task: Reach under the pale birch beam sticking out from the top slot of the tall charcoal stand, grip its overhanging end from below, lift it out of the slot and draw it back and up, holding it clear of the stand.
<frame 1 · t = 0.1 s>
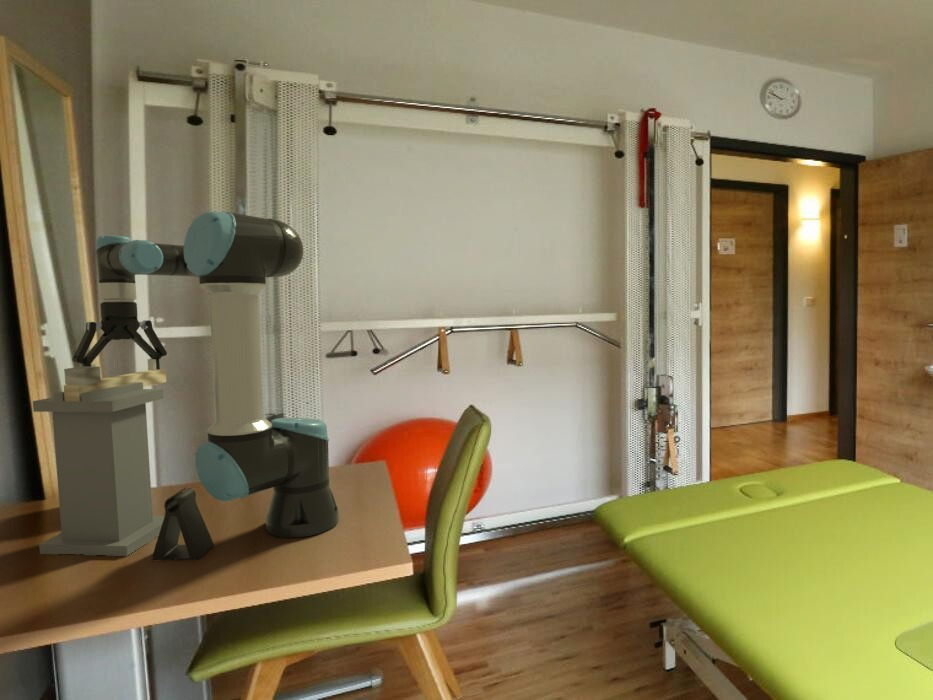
hand: (124, 388, 134), 28 cm above the table, tool pointing down, fingers open, 13 cm apart
beam: (121, 390, 116), point 30 cm above the table, touching stand
stand: (130, 527, 119), on the table
dark triangular holder: (183, 554, 106), on the table
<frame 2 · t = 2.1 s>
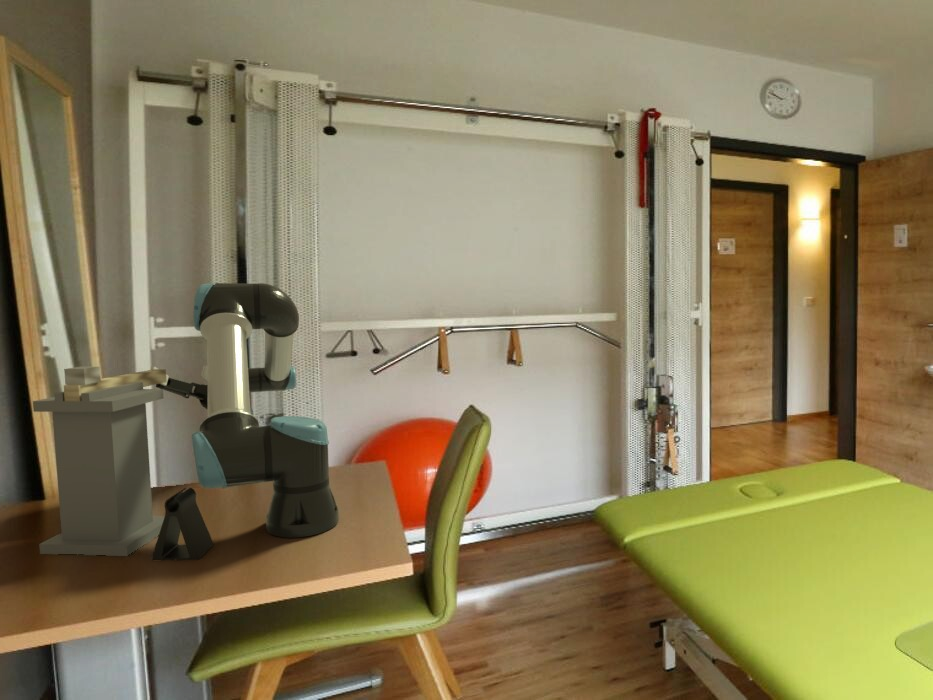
hand: (177, 370, 136), 32 cm above the table, tool pointing upward, fingers open, 13 cm apart
nothing on the table moved.
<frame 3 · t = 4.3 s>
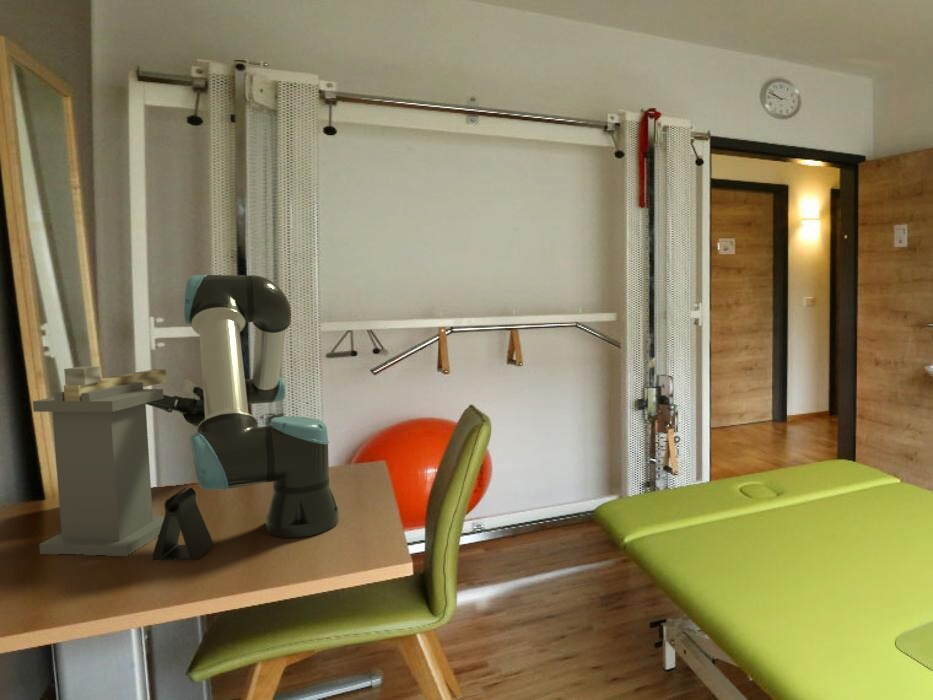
hand: (156, 384, 129), 30 cm above the table, tool pointing upward, fingers open, 13 cm apart
nothing on the table moved.
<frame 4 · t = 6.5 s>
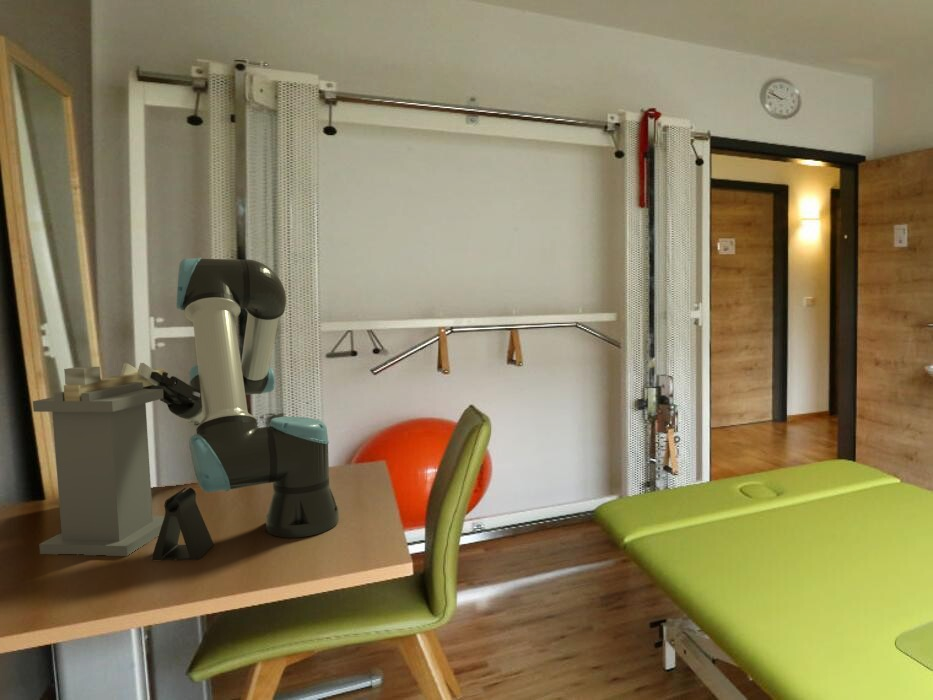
hand: (132, 368, 120), 34 cm above the table, tool pointing upward, fingers closed on beam, 3 cm apart
beam: (121, 390, 116), point 30 cm above the table, touching gripper, stand
everything else where it was.
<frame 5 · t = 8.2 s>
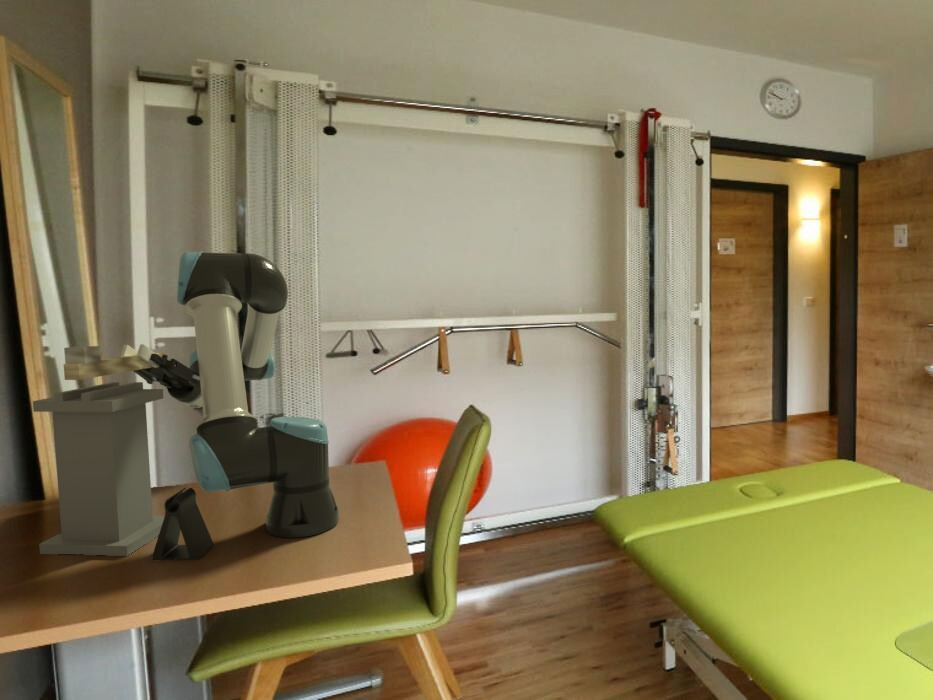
hand: (132, 350, 120), 38 cm above the table, tool pointing upward, fingers closed on beam, 3 cm apart
beam: (121, 371, 116), point 34 cm above the table, touching gripper
everything else where it was.
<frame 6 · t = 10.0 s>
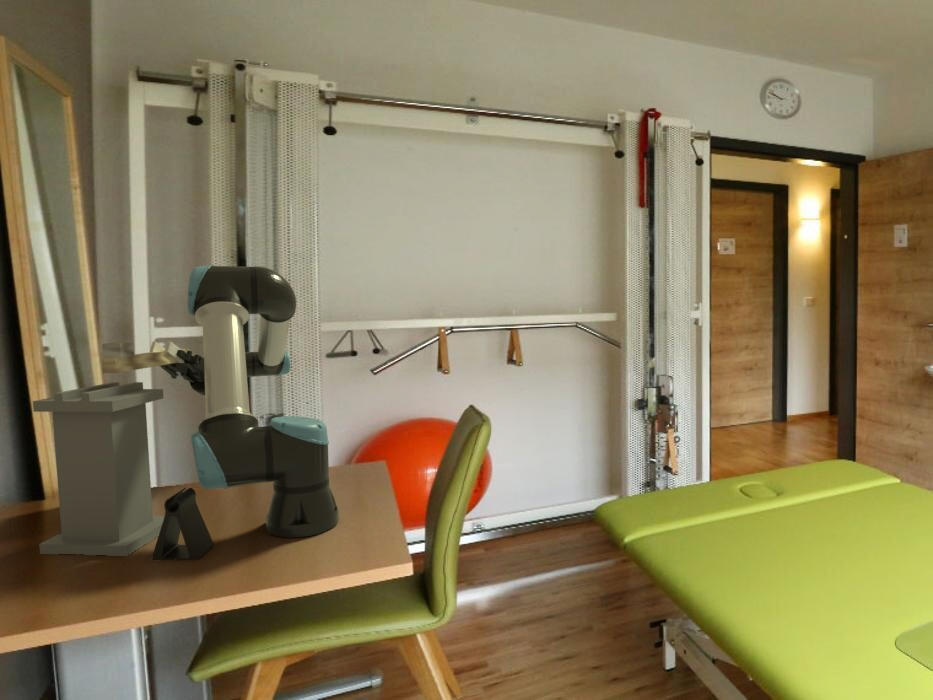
hand: (160, 346, 129), 38 cm above the table, tool pointing upward, fingers closed on beam, 3 cm apart
beam: (150, 366, 126), point 34 cm above the table, touching gripper
everything else where it was.
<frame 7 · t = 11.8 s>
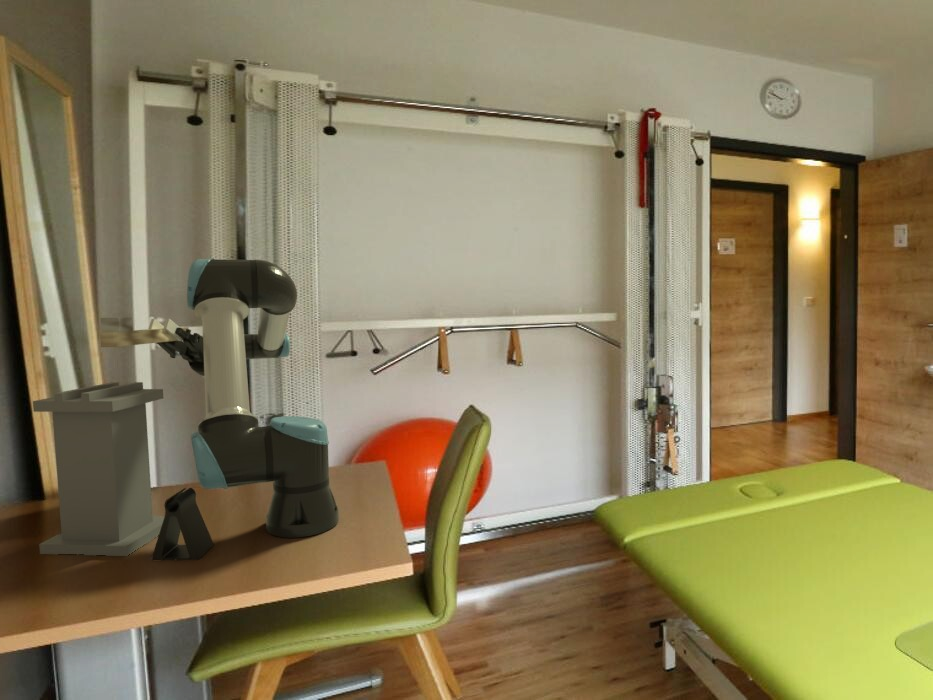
hand: (159, 323, 129), 44 cm above the table, tool pointing upward, fingers closed on beam, 3 cm apart
beam: (149, 342, 125), point 39 cm above the table, touching gripper
everything else where it was.
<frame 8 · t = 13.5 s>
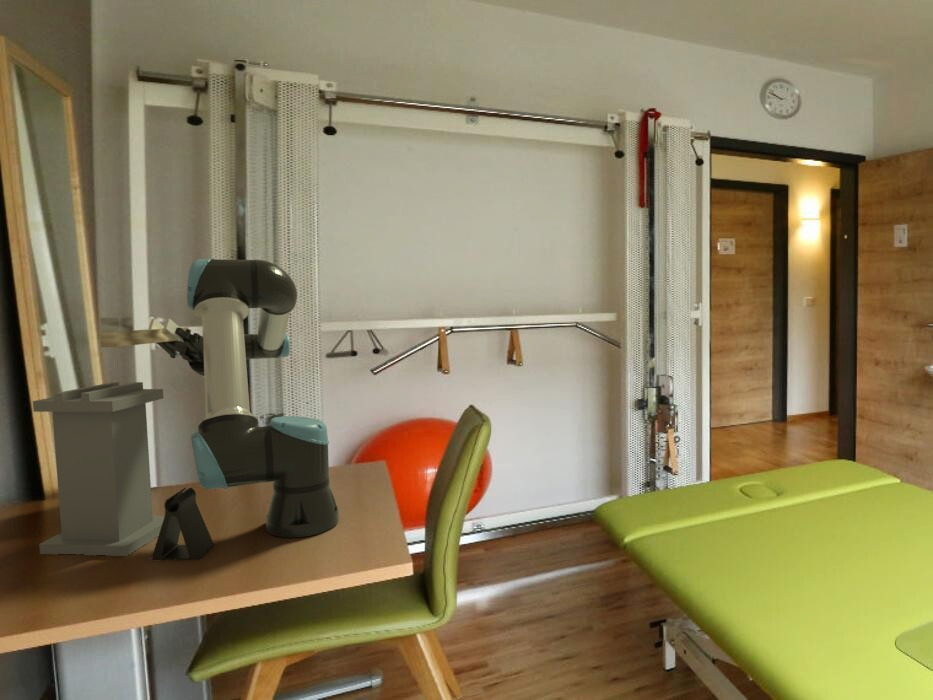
hand: (159, 323, 129), 44 cm above the table, tool pointing upward, fingers closed on beam, 3 cm apart
beam: (149, 342, 125), point 39 cm above the table, touching gripper
everything else where it was.
at the end: the gripper is holding beam; beam touching gripper; beam point 39.5 cm above the table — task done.
